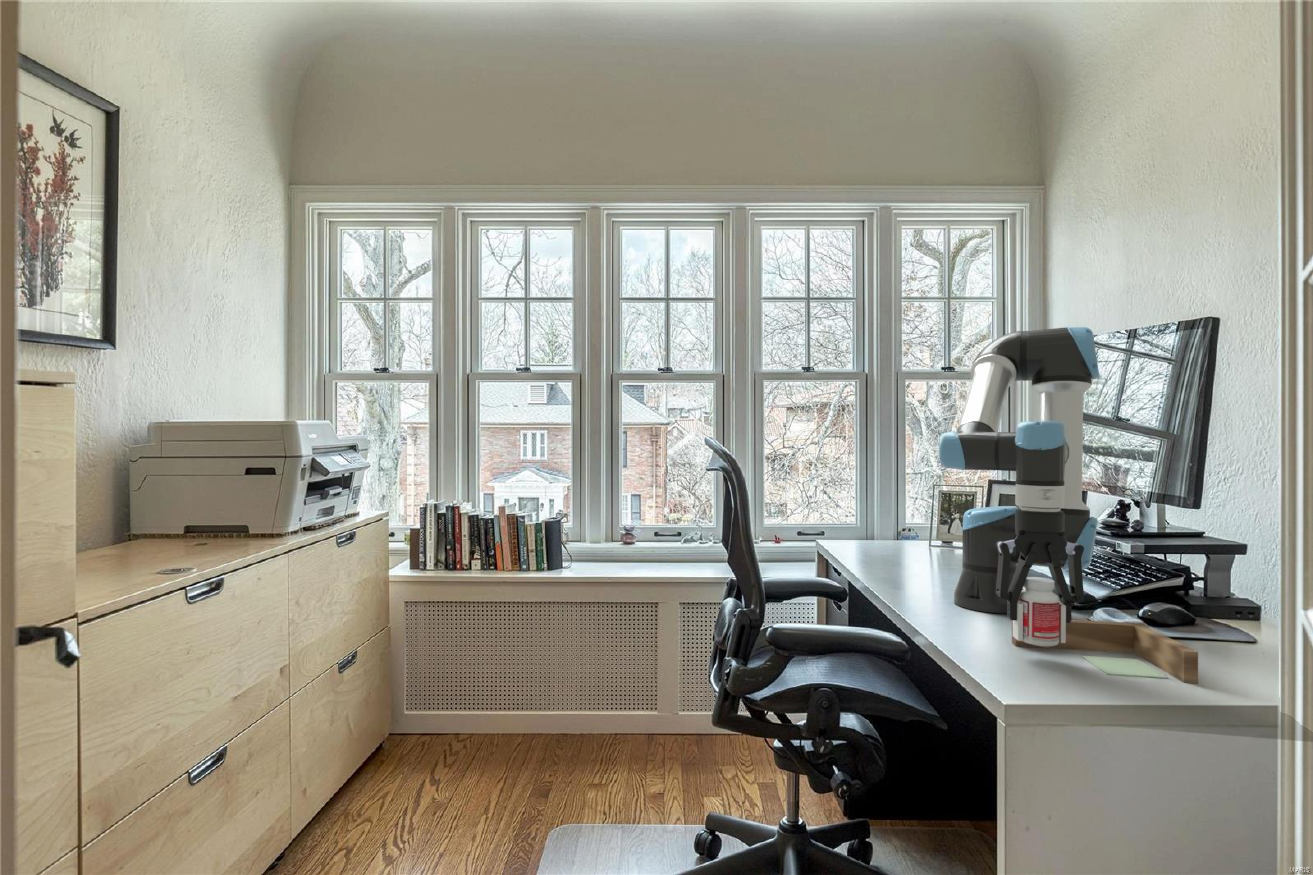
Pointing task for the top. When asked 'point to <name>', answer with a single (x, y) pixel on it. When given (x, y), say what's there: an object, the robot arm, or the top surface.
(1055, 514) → the robot arm
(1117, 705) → the top surface
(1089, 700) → the top surface
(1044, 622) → the pill bottle
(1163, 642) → the corner barrier
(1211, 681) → the top surface
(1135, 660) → the pad
